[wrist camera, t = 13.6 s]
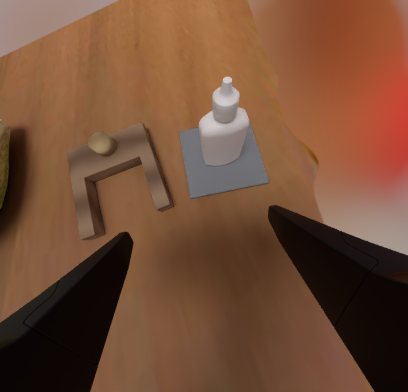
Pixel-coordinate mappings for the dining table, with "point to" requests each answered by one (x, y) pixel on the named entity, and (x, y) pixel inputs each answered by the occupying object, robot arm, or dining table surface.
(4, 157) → the lettuce
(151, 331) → the dining table surface
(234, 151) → the eye dropper bottle
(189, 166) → the slate mat
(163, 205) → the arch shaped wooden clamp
